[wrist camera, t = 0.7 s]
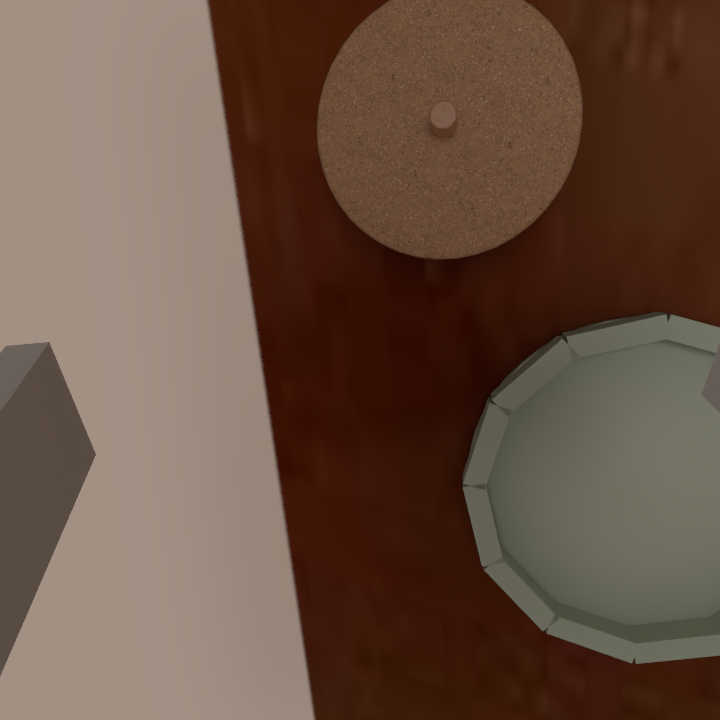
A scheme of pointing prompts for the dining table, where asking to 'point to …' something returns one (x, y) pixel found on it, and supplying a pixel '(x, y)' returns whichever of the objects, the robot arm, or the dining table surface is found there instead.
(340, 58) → the lidded jar
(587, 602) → the rimmed tray
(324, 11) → the dining table surface
